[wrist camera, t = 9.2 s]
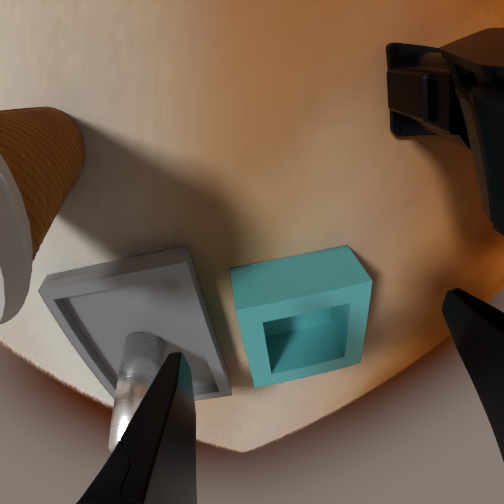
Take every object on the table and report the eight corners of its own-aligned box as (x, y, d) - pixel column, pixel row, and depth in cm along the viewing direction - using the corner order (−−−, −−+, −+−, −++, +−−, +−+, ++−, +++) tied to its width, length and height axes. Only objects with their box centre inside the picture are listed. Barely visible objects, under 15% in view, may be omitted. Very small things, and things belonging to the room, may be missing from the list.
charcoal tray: (187, 246, 22) (186, 262, 20) (230, 379, 31) (232, 395, 29) (46, 275, 21) (37, 291, 20) (122, 391, 30) (120, 406, 28)
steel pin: (157, 328, 24) (148, 442, 16) (171, 356, 26) (169, 461, 18) (117, 334, 24) (98, 442, 16) (134, 361, 26) (123, 462, 18)
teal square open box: (347, 245, 24) (372, 280, 20) (343, 326, 28) (360, 362, 25) (229, 268, 23) (235, 310, 19) (248, 347, 28) (254, 387, 24)
